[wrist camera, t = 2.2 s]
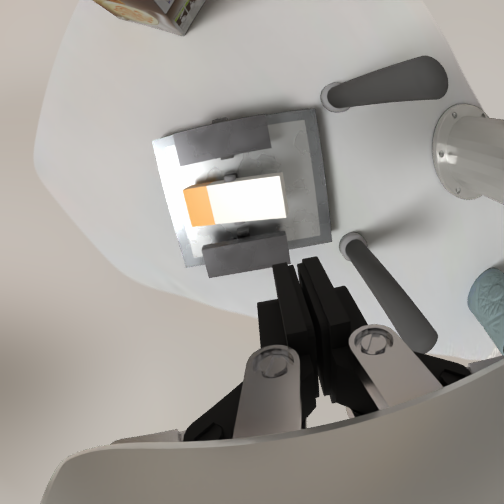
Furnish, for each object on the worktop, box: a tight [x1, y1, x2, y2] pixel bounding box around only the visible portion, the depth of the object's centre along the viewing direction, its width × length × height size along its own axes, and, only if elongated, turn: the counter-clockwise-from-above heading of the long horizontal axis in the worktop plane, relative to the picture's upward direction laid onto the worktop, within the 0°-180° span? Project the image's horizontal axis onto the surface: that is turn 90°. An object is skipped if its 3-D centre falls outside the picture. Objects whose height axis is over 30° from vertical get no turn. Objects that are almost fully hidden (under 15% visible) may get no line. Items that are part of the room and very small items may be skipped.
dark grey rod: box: [339, 232, 438, 354], centre depth 26 cm, size 3×3×18 cm
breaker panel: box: [152, 109, 332, 278], centre depth 29 cm, size 16×15×6 cm
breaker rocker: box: [182, 172, 289, 227], centre depth 26 cm, size 9×4×2 cm, turn 100°
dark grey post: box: [320, 56, 448, 112], centre depth 19 cm, size 3×3×18 cm
